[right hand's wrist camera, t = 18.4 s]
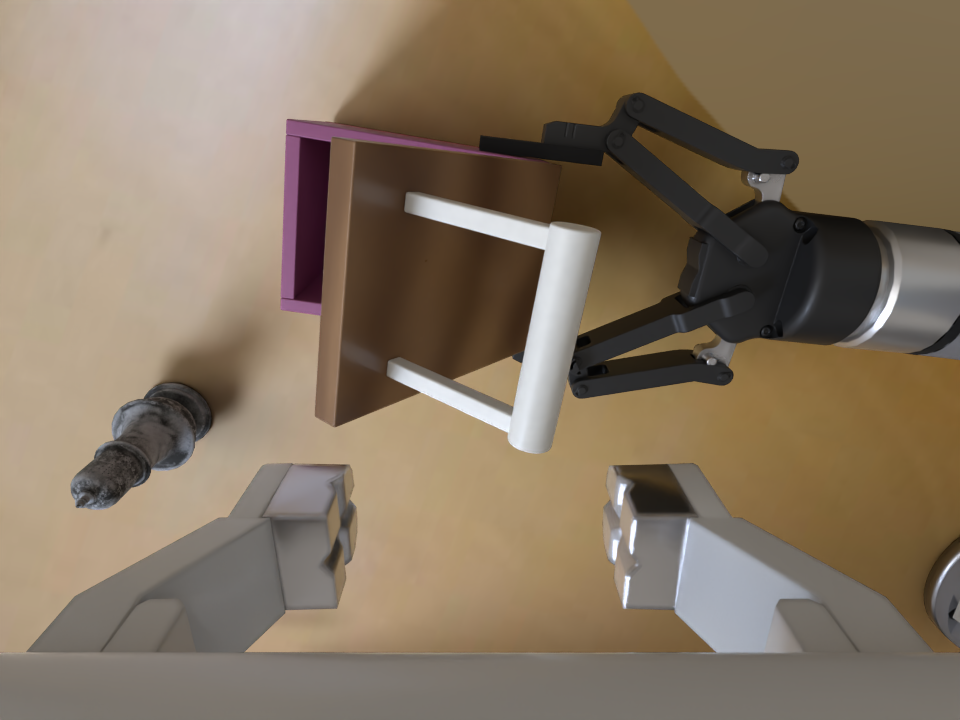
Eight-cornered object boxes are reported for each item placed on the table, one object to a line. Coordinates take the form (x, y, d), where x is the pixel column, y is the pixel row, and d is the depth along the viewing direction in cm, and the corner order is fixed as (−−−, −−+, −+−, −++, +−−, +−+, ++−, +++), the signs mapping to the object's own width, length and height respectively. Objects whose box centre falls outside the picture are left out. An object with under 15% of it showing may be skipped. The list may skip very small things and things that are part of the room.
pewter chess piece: (144, 369, 43) (28, 451, 32) (221, 393, 44) (134, 481, 33) (134, 433, 45) (21, 531, 34) (208, 455, 46) (121, 558, 35)
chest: (320, 271, 40) (279, 310, 32) (329, 121, 37) (285, 118, 28) (505, 298, 41) (516, 344, 33) (531, 155, 38) (551, 162, 29)
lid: (313, 416, 21) (496, 519, 17) (330, 135, 18) (565, 183, 14) (508, 344, 32) (648, 396, 28) (543, 161, 29) (707, 192, 25)
